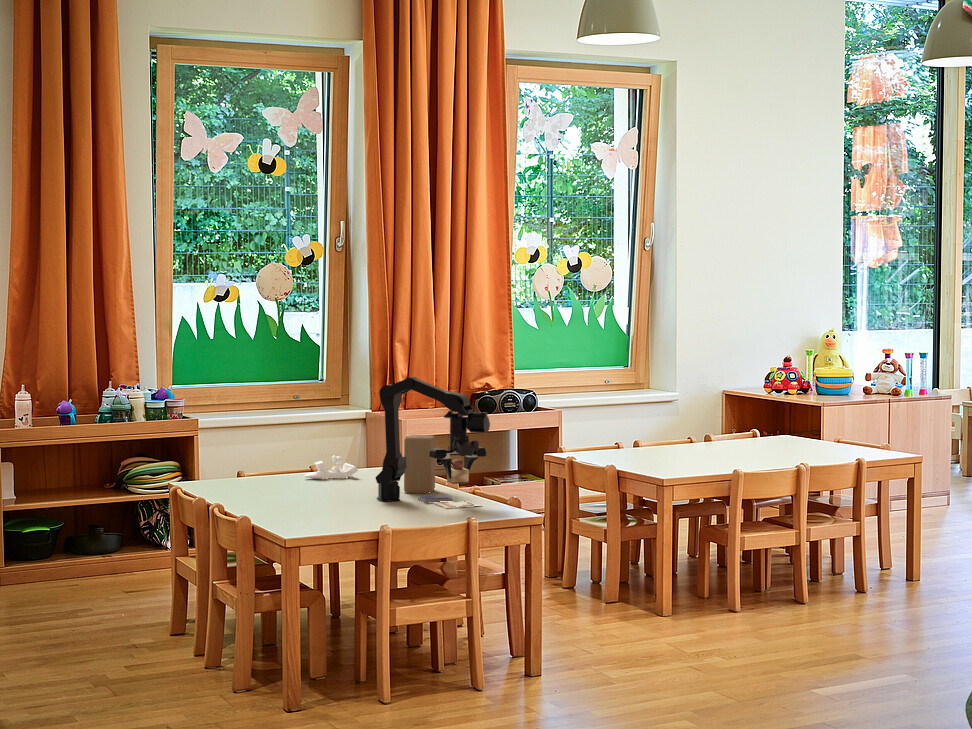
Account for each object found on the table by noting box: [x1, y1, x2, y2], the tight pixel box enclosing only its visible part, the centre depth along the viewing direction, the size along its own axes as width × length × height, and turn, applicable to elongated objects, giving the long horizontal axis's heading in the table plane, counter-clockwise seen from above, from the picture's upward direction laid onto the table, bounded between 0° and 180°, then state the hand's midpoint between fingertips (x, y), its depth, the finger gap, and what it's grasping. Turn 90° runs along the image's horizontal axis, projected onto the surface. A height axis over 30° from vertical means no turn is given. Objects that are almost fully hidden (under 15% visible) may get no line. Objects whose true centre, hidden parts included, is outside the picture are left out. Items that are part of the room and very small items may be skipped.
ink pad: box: [417, 494, 453, 504], centre depth 390 cm, size 10×7×2 cm
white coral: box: [304, 454, 359, 480], centre depth 442 cm, size 11×20×9 cm, turn 116°
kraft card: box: [434, 500, 475, 509], centre depth 382 cm, size 13×11×1 cm
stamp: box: [446, 458, 470, 485], centre depth 382 cm, size 6×6×8 cm
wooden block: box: [403, 434, 436, 494], centre depth 411 cm, size 10×10×20 cm
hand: (457, 478), depth 382 cm, fingers closed on stamp, 5 cm apart
